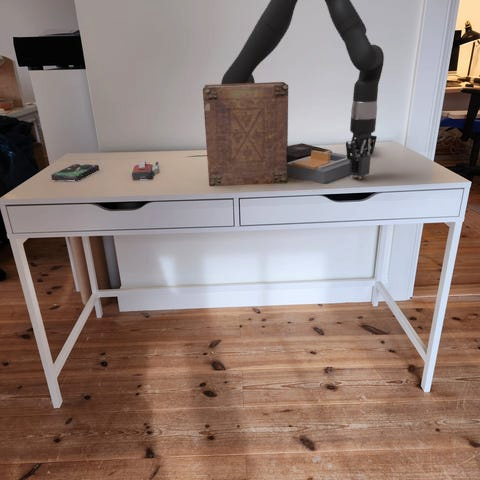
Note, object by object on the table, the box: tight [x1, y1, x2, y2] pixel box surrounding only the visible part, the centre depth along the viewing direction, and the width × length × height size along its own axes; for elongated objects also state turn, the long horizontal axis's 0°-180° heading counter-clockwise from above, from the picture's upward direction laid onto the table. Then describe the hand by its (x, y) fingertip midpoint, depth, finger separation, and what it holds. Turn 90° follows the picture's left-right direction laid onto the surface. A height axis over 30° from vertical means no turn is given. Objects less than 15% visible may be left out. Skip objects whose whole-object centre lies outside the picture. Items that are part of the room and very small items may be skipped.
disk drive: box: [50, 163, 100, 182], centre depth 158 cm, size 10×3×15 cm
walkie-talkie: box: [131, 161, 160, 181], centre depth 157 cm, size 9×4×20 cm
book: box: [202, 81, 289, 187], centre depth 139 cm, size 25×9×30 cm, turn 91°
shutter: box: [293, 150, 331, 170], centre depth 144 cm, size 9×10×3 cm
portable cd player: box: [287, 143, 332, 163], centre depth 168 cm, size 16×17×4 cm
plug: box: [349, 152, 372, 180], centre depth 140 cm, size 5×5×8 cm
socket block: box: [287, 149, 350, 185], centre depth 150 cm, size 16×22×5 cm
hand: (359, 170), depth 141 cm, fingers closed on plug, 4 cm apart
